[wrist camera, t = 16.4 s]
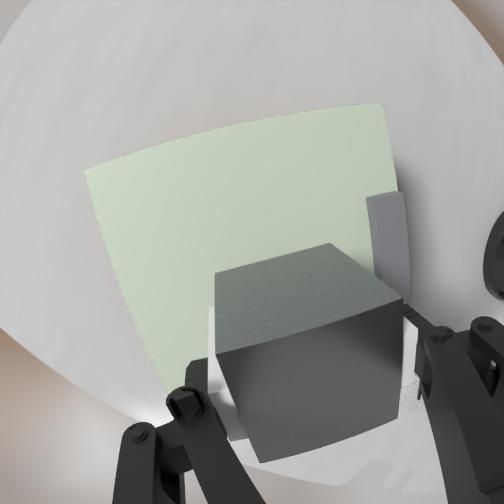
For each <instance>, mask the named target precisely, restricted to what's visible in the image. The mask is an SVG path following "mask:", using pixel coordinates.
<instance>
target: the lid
mask: <svg viewBox="0 0 504 504" xmlns="http://www.w3.org/2000/svg"><path fill="white" fill-rule="evenodd" d="M84 173H85V177H86V181H87V185H88V188H89V192H90V196H91V200H92V203H93V207H94V210H95V214H96V217H97V221H98V224H99V227H100V230H101V234H102V237H103V240H104V243H105V246H106V249H107V252H108V255H109V258H110V261H111V264H112V266H113V269H114V272H115V275H116V278H117V280H118V283H119V286H120V288H121V291H122V293H123V296H124V299H125V301H126V304H127V306H128V309H129V311H130V313H131V316H132V318H133V321H134V323H135V325H136V328H137V330H138V332H139V335H140V337H141V339H142V341H143V344H144V346H145V348H146V350H147V352H148V354H149V357H150V359H151V361H152V363H153V365H154V367H155V369H156V371H157V373H158V375H159V377H160V379H161V381H162V383H163V385H164V387H165V389H166V391H167V393H168V395H169V394H170V393H171V392H172V391H173V390H175V389H176V388H178V387H181V386H184V385H185V373H186V368H187V366H188V365H189V363H190V362H191V361H193V360H198V359H202V358H207V357H208V332H209V307H213V306H215V292H214V282H215V273H217V272H221V271H225V270H228V269H232V268H236V267H240V266H244V265H248V264H251V263H255V262H259V261H263V260H267V259H270V258H274V257H278V256H282V255H286V254H289V253H293V252H297V251H301V250H304V249H308V248H312V247H315V246H319V245H323V244H327V243H331V244H333V245H334V246H335V247H337V248H338V249H340V250H341V251H342V252H344V253H345V254H346V255H348V256H349V257H350V258H352V259H353V260H355V261H356V262H357V263H359V264H360V265H361V266H363V267H364V268H365V269H367V270H368V271H369V272H371V273H372V274H373V275H375V276H376V277H377V278H379V279H380V280H381V281H383V282H384V283H385V284H386V285H388V286H389V287H390V288H392V289H393V290H394V291H396V292H397V293H398V294H399V295H401V296H402V297H403V298H404V303H405V304H406V301H408V300H411V289H410V258H409V242H408V229H407V218H406V208H405V199H404V193H403V192H398V187H397V180H396V173H395V167H394V161H393V155H392V149H391V144H390V139H389V134H388V129H387V124H386V119H385V115H384V111H383V106H382V103H374V104H362V105H352V106H343V107H334V108H326V109H319V110H312V111H305V112H299V113H293V114H287V115H281V116H275V117H270V118H265V119H260V120H255V121H250V122H245V123H240V124H236V125H231V126H227V127H223V128H219V129H215V130H211V131H207V132H203V133H199V134H195V135H191V136H188V137H184V138H180V139H177V140H173V141H170V142H166V143H163V144H160V145H156V146H153V147H150V148H147V149H144V150H141V151H138V152H135V153H132V154H129V155H126V156H123V157H120V158H117V159H114V160H111V161H109V162H106V163H103V164H101V165H98V166H95V167H93V168H90V169H87V170H85V171H84Z"/></svg>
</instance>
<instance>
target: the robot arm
mask: <svg viewBox="0 0 504 504" xmlns="http://www.w3.org/2000/svg"><path fill="white" fill-rule="evenodd" d="M483 272H484V281H485V284H486V287H487V289H488V291H489V292H490V293H491V294H492V295H494V296H496V297H498V298H499V299H501V300H504V212H503V213H502V214H501V215H500V216H499V218H498V219H497V221H496V223H495V224H494V226H493V229H492V231H491V233H490V236H489V239H488V242H487V246H486V250H485V256H484V267H483ZM492 360H493V361H494V362H495V363H496V367H494V366H493V365H492V364H491V362H492ZM415 373H416V374H417V375H418V377H419V378H420V382H419V389H418V400H420V397H421V394H422V397H423V400H424V404H425V407H426V411H427V414H428V417H429V421H430V425H431V428H432V432H433V436H434V440H435V444H436V448H437V452H438V456H439V460H440V465H441V469H442V474H443V479H444V484H445V489H446V494H447V500H448V504H504V326H503V325H502V324H501V323H499V322H498V321H497V320H495V319H494V318H492V317H487V316H482V317H478V318H476V319H474V320H473V321H472V323H471V327H470V330H467V331H462V332H458V333H455V332H454V331H453V330H452V329H450V328H448V327H444V326H437V327H434V326H433V325H432V324H431V323H430V322H428V321H427V320H426V319H425V318H424V317H422V316H421V315H420V314H418V313H417V312H416V311H415V310H413V308H411V307H410V306H409V305H408V304H405V303H404V332H403V360H402V376H401V389H402V388H404V387H406V386H408V385H410V384H413V383H414V375H415ZM166 405H167V407H168V409H169V410H170V412H171V414H172V416H173V417H174V420H173V421H171V422H169V423H167V424H165V425H162V426H159V427H157V428H155V427H154V426H153V425H152V424H150V423H147V422H139V423H136V424H133V425H132V426H130V427H128V428H127V430H126V431H125V432H124V434H123V436H122V441H121V446H120V452H119V459H118V465H117V471H116V478H115V486H114V493H113V501H112V504H186V501H185V484H184V473H185V472H187V471H190V470H192V469H193V470H194V472H195V474H196V477H197V479H198V482H199V484H200V486H201V489H202V491H203V493H204V496H205V498H206V500H207V502H208V504H266V503H265V501H264V500H263V498H262V497H261V495H260V494H259V492H258V491H257V489H256V487H255V486H254V484H253V483H252V481H251V479H250V478H249V476H248V474H247V473H246V472H245V469H244V468H243V466H242V464H241V463H240V461H239V459H238V457H237V456H236V454H235V452H234V450H233V449H232V447H231V445H230V443H229V442H228V440H227V436H228V438H229V440H230V442H231V441H236V440H241V439H246V438H248V435H247V433H246V431H245V428H244V426H243V423H242V421H241V419H240V416H239V414H238V411H237V409H236V407H235V404H234V402H233V399H232V397H231V394H230V392H229V389H228V387H227V384H226V382H225V379H224V376H223V374H222V371H221V369H220V366H219V363H218V361H217V358H216V355H215V306H213V307H209V332H208V357H207V358H202V359H198V360H193V361H191V362H190V363H189V365H188V366H187V368H186V373H185V385H184V386H181V387H178V388H176V389H175V390H173V391H172V392H171V393H170V394H169V395H168V397H167V399H166Z"/></svg>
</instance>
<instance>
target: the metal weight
mask: <svg viewBox="0 0 504 504" xmlns="http://www.w3.org/2000/svg"><path fill="white" fill-rule="evenodd" d="M214 292H215V355H216V358H217V361H218V363H219V366H220V369H221V371H222V374H223V376H224V379H225V382H226V384H227V387H228V389H229V392H230V394H231V397H232V399H233V402H234V404H235V407H236V409H237V411H238V414H239V416H240V419H241V421H242V423H243V426H244V428H245V431H246V433H247V435H248V438H249V440H250V442H251V444H252V447H253V449H254V451H255V453H256V456H257V458H258V460H259V462H260V463H265V462H269V461H273V460H277V459H282V458H286V457H289V456H293V455H297V454H300V453H304V452H308V451H311V450H314V449H318V448H321V447H324V446H327V445H330V444H333V443H336V442H339V441H342V440H345V439H348V438H350V437H353V436H356V435H358V434H361V433H364V432H366V431H369V430H371V429H374V428H376V427H378V426H381V425H383V424H386V423H388V422H390V421H392V420H395V419H397V418H398V409H399V400H400V389H401V376H402V360H403V332H404V298H403V297H402V296H401V295H399V294H398V293H397V292H396V291H394V290H393V289H392V288H390V287H389V286H388V285H386V284H385V283H384V282H383V281H381V280H380V279H379V278H377V277H376V276H375V275H373V274H372V273H371V272H369V271H368V270H367V269H365V268H364V267H363V266H361V265H360V264H359V263H357V262H356V261H355V260H353V259H352V258H350V257H349V256H348V255H346V254H345V253H344V252H342V251H341V250H340V249H338V248H337V247H335V246H334V245H333V244H331V243H327V244H323V245H319V246H315V247H312V248H308V249H304V250H301V251H297V252H293V253H289V254H286V255H282V256H278V257H274V258H270V259H267V260H263V261H259V262H255V263H251V264H248V265H244V266H240V267H236V268H232V269H228V270H225V271H221V272H217V273H215V282H214Z"/></svg>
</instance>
